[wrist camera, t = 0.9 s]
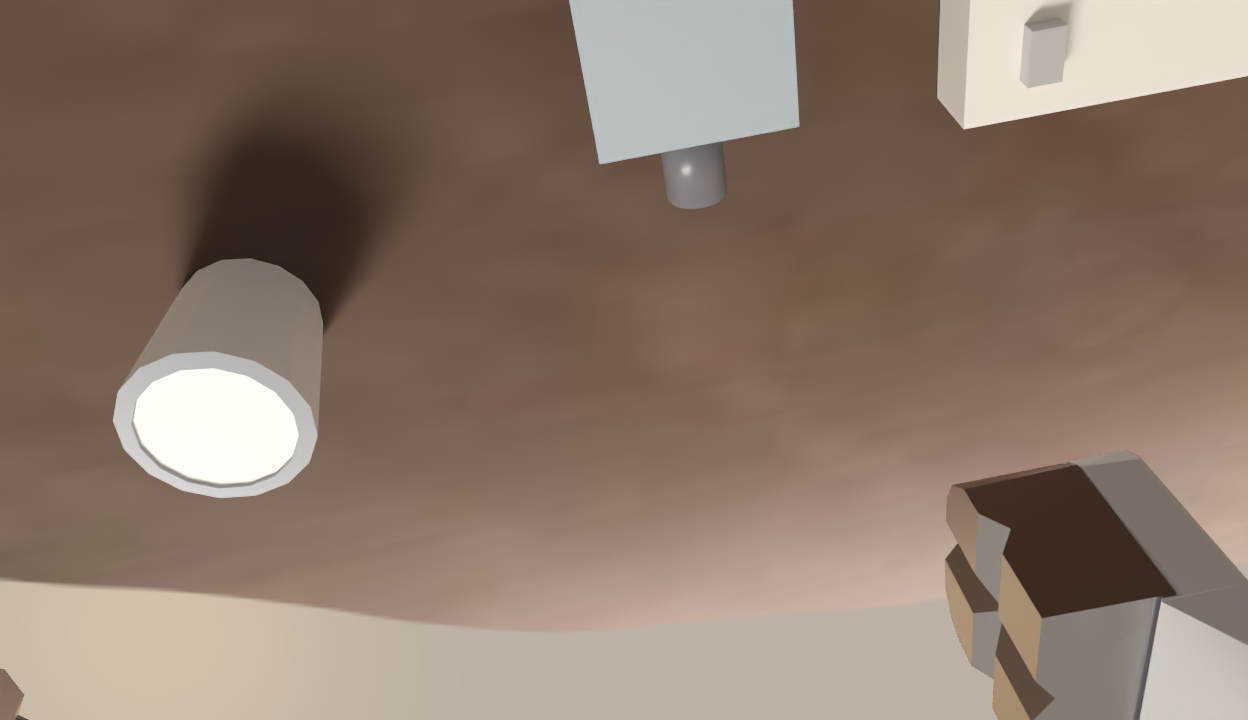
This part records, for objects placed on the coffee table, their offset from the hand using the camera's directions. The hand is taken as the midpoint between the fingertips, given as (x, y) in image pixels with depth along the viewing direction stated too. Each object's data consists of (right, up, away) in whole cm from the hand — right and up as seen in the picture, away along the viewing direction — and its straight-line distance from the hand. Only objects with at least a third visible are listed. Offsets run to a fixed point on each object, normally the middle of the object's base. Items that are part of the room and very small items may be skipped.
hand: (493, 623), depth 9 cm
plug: (+2, +15, +27) cm, 31 cm away
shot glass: (-14, +4, +34) cm, 37 cm away
